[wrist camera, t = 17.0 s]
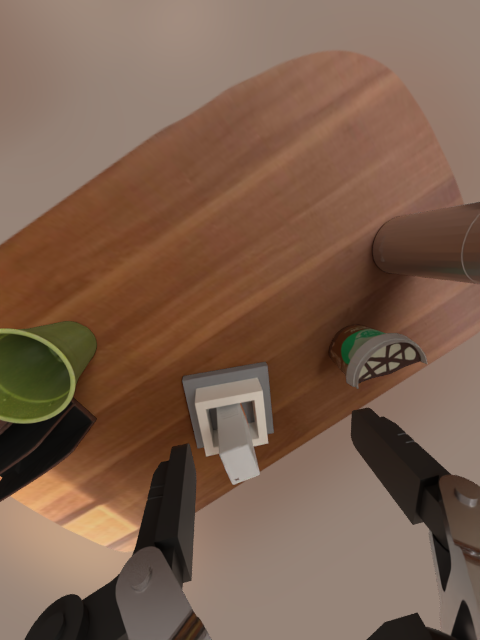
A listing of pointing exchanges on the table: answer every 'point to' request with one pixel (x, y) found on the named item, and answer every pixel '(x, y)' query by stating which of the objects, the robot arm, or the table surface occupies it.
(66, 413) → the letter holder
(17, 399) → the plant pot
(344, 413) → the table surface
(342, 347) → the food container
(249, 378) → the box stand
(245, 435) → the skincare box
